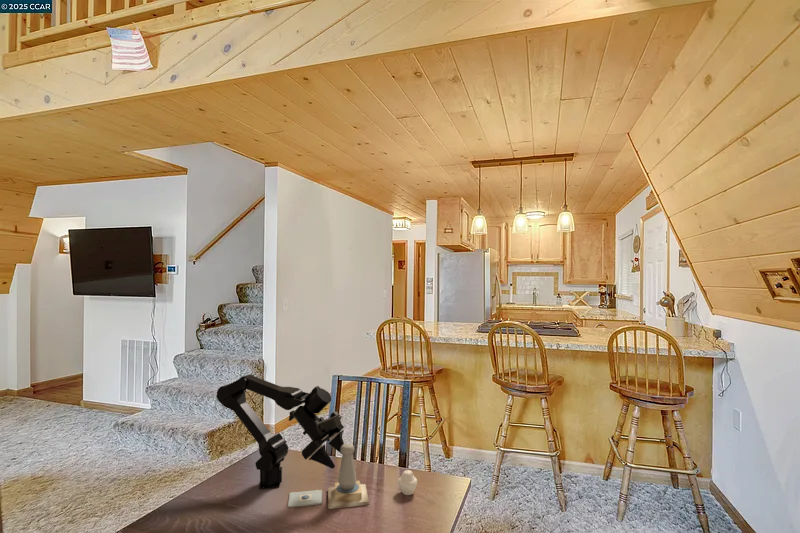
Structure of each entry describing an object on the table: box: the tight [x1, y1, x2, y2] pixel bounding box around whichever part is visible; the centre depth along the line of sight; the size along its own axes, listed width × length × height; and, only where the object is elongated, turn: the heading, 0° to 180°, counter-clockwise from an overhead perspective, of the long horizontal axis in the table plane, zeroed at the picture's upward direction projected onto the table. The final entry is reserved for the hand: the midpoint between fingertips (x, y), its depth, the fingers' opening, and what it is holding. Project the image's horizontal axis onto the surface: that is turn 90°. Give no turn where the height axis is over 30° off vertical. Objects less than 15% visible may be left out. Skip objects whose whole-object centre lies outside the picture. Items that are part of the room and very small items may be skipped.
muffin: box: [397, 469, 418, 496], centre depth 134 cm, size 6×6×7 cm
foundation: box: [327, 480, 370, 510], centre depth 131 cm, size 12×11×3 cm
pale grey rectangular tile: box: [287, 489, 323, 508], centre depth 130 cm, size 10×8×1 cm
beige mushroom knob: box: [337, 443, 358, 490], centre depth 132 cm, size 6×6×13 cm
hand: (340, 461), depth 132 cm, fingers open, 9 cm apart
